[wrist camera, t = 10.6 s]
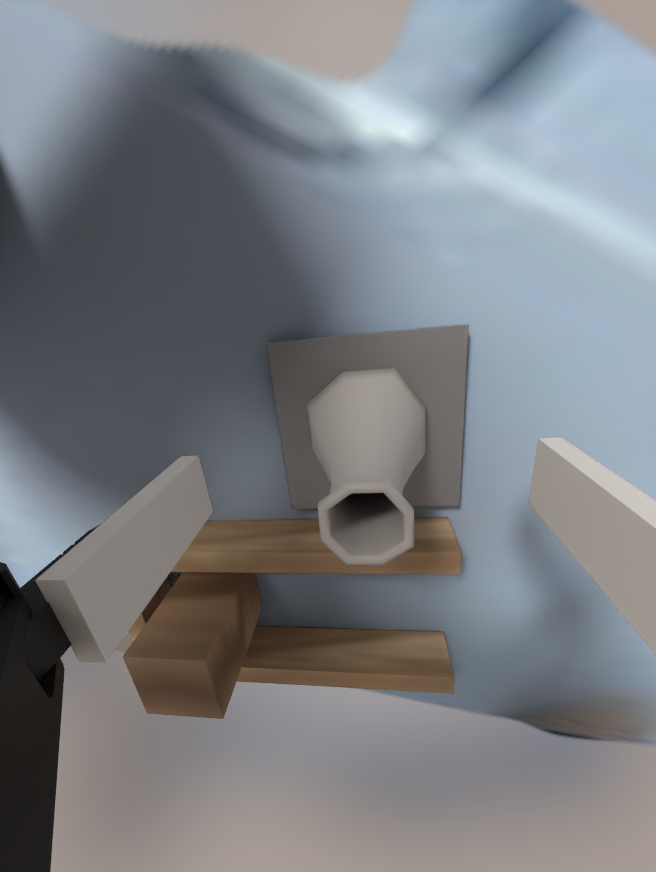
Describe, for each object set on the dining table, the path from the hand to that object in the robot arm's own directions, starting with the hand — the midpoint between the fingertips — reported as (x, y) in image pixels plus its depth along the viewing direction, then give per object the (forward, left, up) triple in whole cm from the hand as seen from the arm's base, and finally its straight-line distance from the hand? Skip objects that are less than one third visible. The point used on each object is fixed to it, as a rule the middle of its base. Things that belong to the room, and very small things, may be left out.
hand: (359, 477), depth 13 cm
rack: (+13, -6, -8) cm, 17 cm away
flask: (0, 0, -7) cm, 7 cm away
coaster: (0, 0, -8) cm, 8 cm away
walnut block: (+13, -12, -8) cm, 20 cm away
